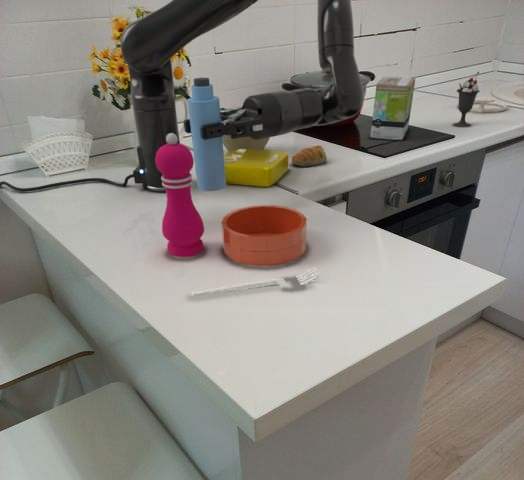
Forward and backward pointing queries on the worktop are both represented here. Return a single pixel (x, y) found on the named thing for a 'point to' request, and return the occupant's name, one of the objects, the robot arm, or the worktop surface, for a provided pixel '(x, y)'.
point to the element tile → (255, 167)
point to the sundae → (466, 99)
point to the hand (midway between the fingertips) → (193, 129)
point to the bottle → (211, 150)
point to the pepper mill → (179, 200)
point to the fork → (260, 284)
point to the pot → (264, 235)
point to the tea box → (392, 107)
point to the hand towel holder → (487, 101)
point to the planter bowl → (244, 142)
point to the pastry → (310, 156)
